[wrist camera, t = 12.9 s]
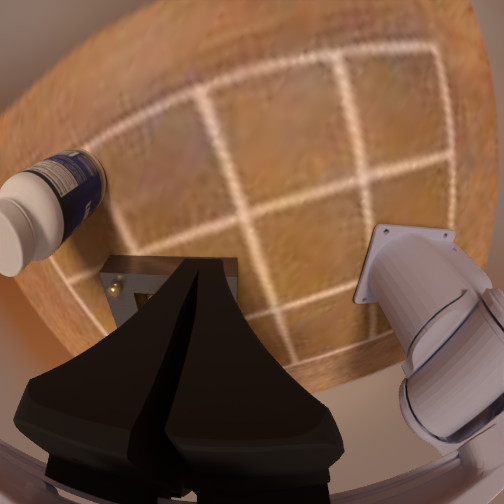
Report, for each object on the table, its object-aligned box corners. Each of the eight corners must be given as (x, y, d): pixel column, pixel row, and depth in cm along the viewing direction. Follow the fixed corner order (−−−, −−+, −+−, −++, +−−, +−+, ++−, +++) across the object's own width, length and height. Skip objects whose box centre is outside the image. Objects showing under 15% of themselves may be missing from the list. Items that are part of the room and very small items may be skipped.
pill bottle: (88, 225, 19) (23, 305, 11) (44, 187, 17) (-35, 248, 9) (120, 175, 18) (43, 241, 9) (71, 133, 15) (-24, 173, 7)
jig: (237, 257, 22) (237, 285, 19) (235, 336, 26) (235, 364, 23) (110, 255, 21) (94, 280, 18) (132, 330, 25) (123, 356, 22)
